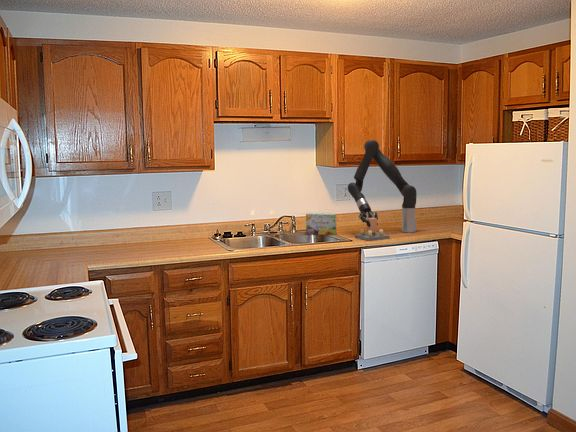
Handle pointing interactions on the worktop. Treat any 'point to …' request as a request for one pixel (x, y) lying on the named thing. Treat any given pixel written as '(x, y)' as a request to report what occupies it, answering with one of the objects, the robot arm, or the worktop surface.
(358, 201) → the robot arm
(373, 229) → the terracotta block
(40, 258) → the worktop surface
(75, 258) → the worktop surface
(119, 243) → the worktop surface
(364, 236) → the chassis plate
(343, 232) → the worktop surface
